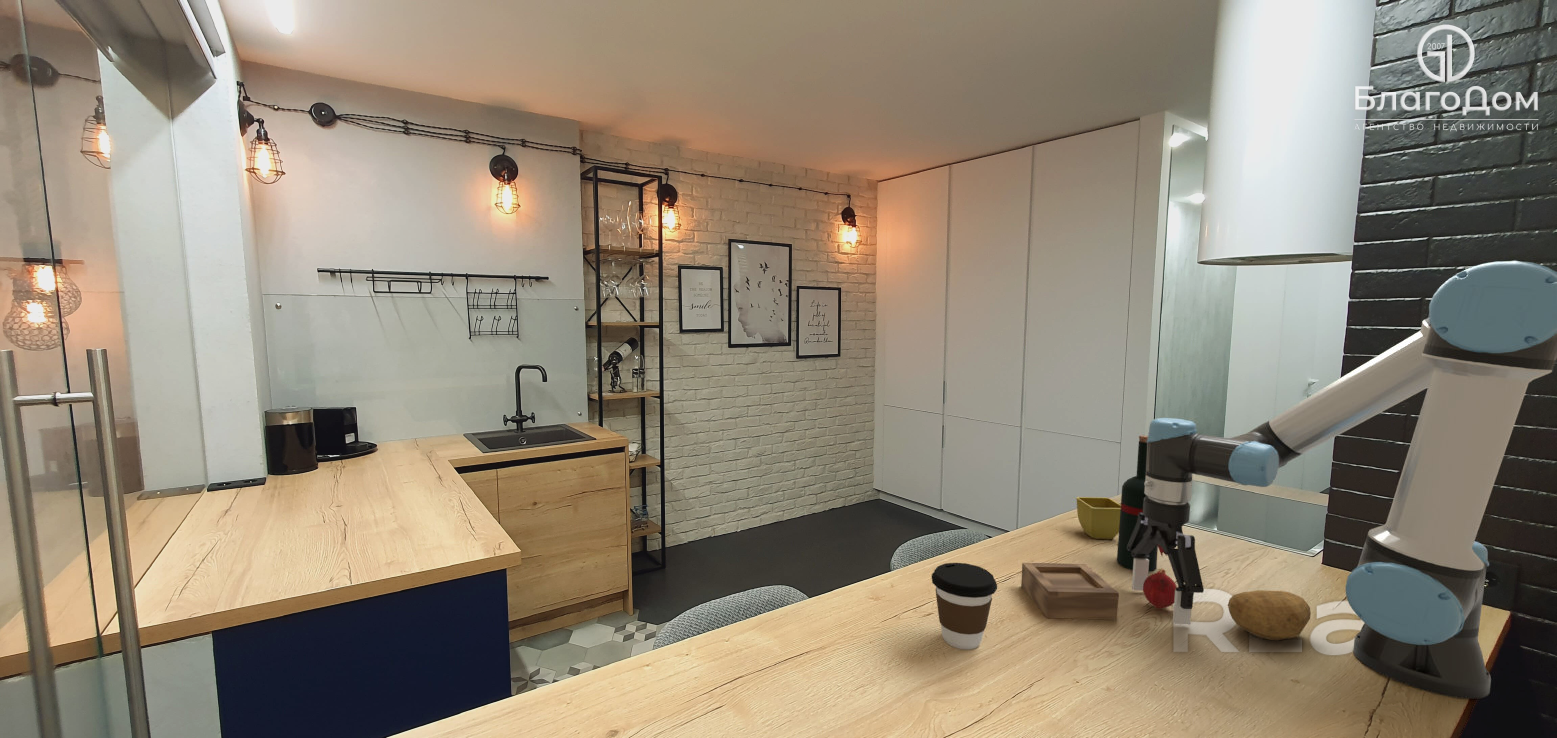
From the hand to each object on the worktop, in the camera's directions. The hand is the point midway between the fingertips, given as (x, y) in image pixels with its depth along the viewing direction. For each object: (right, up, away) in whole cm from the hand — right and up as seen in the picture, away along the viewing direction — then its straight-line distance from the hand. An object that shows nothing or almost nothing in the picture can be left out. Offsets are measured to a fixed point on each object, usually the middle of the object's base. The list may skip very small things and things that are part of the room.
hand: (1159, 605), depth 117 cm
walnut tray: (-17, 0, +2) cm, 17 cm away
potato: (+14, -2, -9) cm, 17 cm away
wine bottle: (+8, +1, +20) cm, 22 cm away
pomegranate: (0, -1, 0) cm, 1 cm away
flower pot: (+9, +3, +39) cm, 40 cm away
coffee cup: (-42, -2, -12) cm, 44 cm away
